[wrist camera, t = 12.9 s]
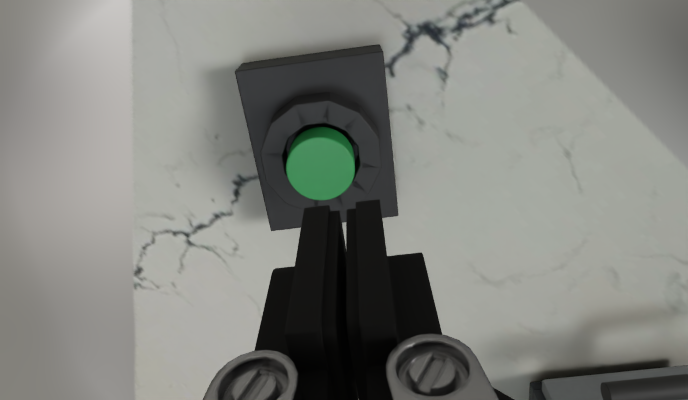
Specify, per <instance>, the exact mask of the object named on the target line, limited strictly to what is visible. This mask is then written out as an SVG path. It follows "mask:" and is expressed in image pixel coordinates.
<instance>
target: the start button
mask: <svg viewBox="0 0 688 400" xmlns="http://www.w3.org/2000/svg"><path fill="white" fill-rule="evenodd" d="M286 173H287V177H288V180H289V182H290V184H291V185H292V187H293V188H294V189H295V190H296V191H297V192H298V193H300V194H301V195H303V196H305V197H307V198H310V199H313V200H329V199H332V198H335V197H337V196H339V195H341V194H342V193H343V192H345V191H346V190H347V189H348V187H349V186H350V185H351V183H352V181H353V178H354V174H355V161H354V152H353V148H352V146H351V144H350V142H349V141H348V139H347V138H346V137H345V136H344V135H343V134H341V133H340V132H338V131H336V130H334V129H331V128H327V127H315V128H311V129H308V130H306V131H304V132H302V133H301V134H299V135H298V136H297V137H296V138H295V140H294V141H293V143H292V145H291V147H290V150H289V154H288V158H287V163H286Z"/></svg>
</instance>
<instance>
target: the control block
mask: <svg viewBox="0 0 688 400" xmlns="http://www.w3.org/2000/svg"><path fill="white" fill-rule="evenodd" d="M235 74H236V79H237V83H238V87H239V92H240V96H241V101H242V105H243V109H244V114H245V118H246V123H247V127H248V131H249V136H250V140H251V145H252V149H253V153H254V158H255V162H256V166H257V171H258V175H259V180H260V184H261V188H262V193H263V197H264V202H265V206H266V210H267V215H268V219H269V224H270V228H271V231H275V230H284V229H292V228H300V227H301V226H302V219H303V213H304V208H308V207H316V206H325V205H329V206H330V209H331V211H337V210H339V211H340V216H341V222H347V209H354V208H356V204H355V203H356V202H359V201H368V200H376V199H380V205H381V213H382V218H384V217H393V216H398V206H397V196H396V185H395V174H394V163H393V153H392V142H391V131H390V120H389V110H388V99H387V88H386V77H385V67H384V56H383V51H382V48H381V46H380V45H372V46H365V47H357V48H350V49H343V50H335V51H328V52H321V53H313V54H306V55H299V56H291V57H284V58H277V59H270V60H262V61H255V62H248V63H242V64H241V65H240V66H239V68H238V69H237V70H236V71H235ZM315 127H327V128H331V129H334V130H336V131H338V132H340V133H341V134H343V135H344V136H345V137H346V138H347V139H348V141H349V142H350V144H351V146H352V148H353V152H354V161H355V174H354V178H353V181H352V183H351V185H350V186H349V187H348V189H347V190H346V191H345V192H343V193H342V194H341V195H339V196H337V197H335V198H332V199H329V200H313V199H310V198H307V197H305V196H303V195H301V194H300V193H298V192H297V191H296V190H295V189H294V188H293V187H292V185H291V184H290V182H289V180H288V177H287V173H286V163H287V158H288V154H289V150H290V147H291V145H292V143H293V141H294V140H295V138H296V137H297V136H298V135H299V134H301V133H302V132H304V131H306V130H308V129H311V128H315Z"/></svg>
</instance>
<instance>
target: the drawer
mask: <svg viewBox="0 0 688 400" xmlns="http://www.w3.org/2000/svg"><path fill="white" fill-rule="evenodd" d="M542 392H543V394H544V396H545V398H546V400H688V365H685V366H675V367H665V368H655V369H645V370H636V371H626V372H616V373H606V374H596V375H586V376H576V377H566V378H556V379H546V380H543V381H542Z"/></svg>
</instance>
